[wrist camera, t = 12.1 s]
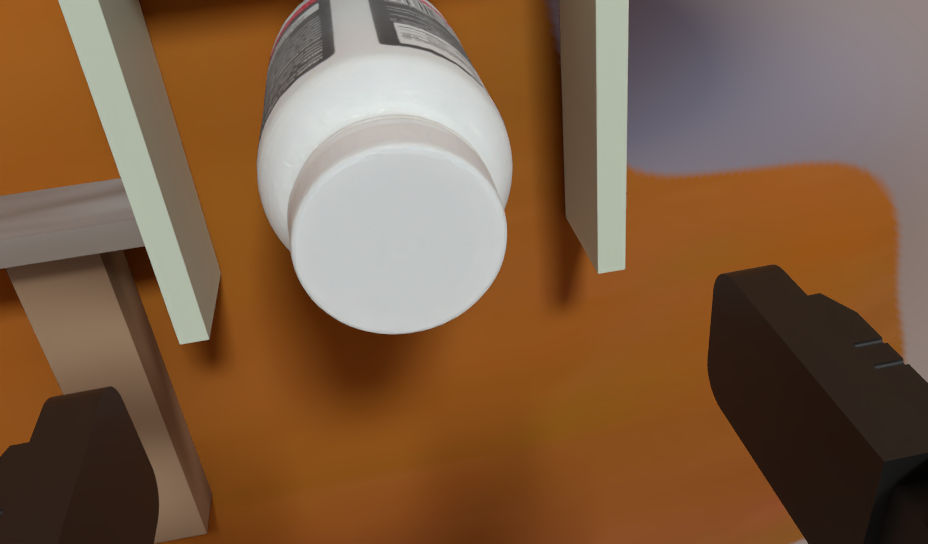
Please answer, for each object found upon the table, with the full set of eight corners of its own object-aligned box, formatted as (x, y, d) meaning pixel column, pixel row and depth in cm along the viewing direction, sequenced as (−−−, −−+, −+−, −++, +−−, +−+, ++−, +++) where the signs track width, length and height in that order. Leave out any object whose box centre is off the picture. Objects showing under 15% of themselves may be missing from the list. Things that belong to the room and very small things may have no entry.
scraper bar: (-56, 202, 23) (-100, 255, 21) (161, 170, 24) (143, 218, 21) (94, 512, 30) (75, 581, 27) (260, 482, 30) (256, 546, 28)
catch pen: (57, -148, 19) (11, -132, 16) (584, -210, 20) (631, -205, 17) (194, 277, 25) (179, 344, 22) (589, 213, 26) (624, 268, 23)
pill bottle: (310, 186, 24) (310, 398, 16) (236, 10, 22) (192, 160, 13) (483, 131, 24) (571, 316, 16) (433, -52, 21) (509, 59, 13)
